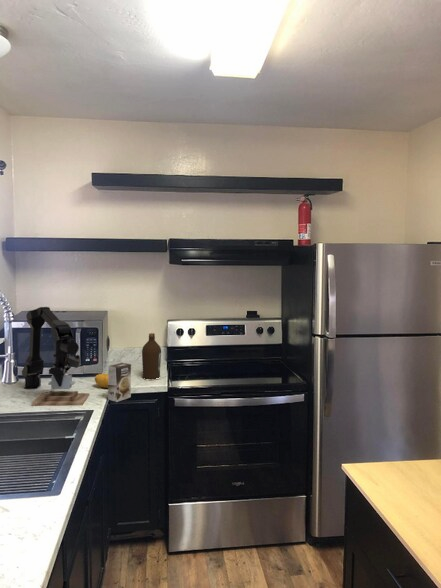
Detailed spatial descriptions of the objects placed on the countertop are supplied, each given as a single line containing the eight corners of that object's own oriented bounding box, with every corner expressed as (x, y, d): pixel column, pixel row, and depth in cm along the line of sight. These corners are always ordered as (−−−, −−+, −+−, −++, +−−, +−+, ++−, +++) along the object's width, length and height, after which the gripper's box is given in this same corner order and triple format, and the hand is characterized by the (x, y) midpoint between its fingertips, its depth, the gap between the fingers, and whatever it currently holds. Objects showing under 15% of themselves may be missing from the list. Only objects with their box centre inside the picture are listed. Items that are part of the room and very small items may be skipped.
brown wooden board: (31, 405, 193) (31, 399, 192) (42, 395, 208) (42, 389, 207) (82, 405, 195) (82, 398, 195) (89, 395, 210) (89, 389, 210)
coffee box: (117, 402, 200) (117, 367, 199) (107, 399, 204) (107, 365, 203) (131, 397, 208) (131, 363, 207) (121, 394, 211) (121, 362, 210)
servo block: (47, 389, 198) (47, 374, 198) (50, 386, 203) (50, 372, 202) (73, 389, 199) (73, 374, 199) (75, 386, 204) (75, 372, 203)
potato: (101, 384, 229) (101, 371, 228) (124, 387, 223) (124, 374, 223) (92, 387, 222) (92, 374, 222) (115, 391, 217) (115, 377, 216)
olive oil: (142, 380, 237) (142, 335, 235) (141, 375, 247) (141, 332, 246) (161, 380, 239) (162, 335, 238) (160, 375, 250) (160, 332, 248)
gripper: (74, 355, 191) (74, 390, 192) (83, 347, 210) (83, 379, 211) (48, 355, 190) (48, 390, 191) (60, 347, 209) (60, 379, 210)
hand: (61, 384), depth 201 cm, fingers closed on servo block, 4 cm apart
